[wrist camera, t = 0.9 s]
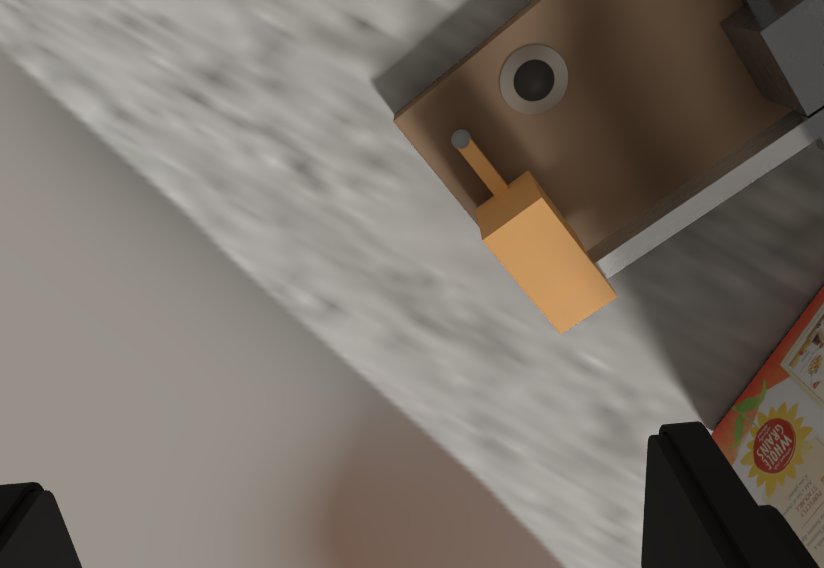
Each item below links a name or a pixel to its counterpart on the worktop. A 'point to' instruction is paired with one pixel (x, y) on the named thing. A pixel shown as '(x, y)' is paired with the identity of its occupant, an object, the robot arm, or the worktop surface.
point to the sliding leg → (536, 244)
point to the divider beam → (807, 122)
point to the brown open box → (593, 106)
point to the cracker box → (785, 430)
